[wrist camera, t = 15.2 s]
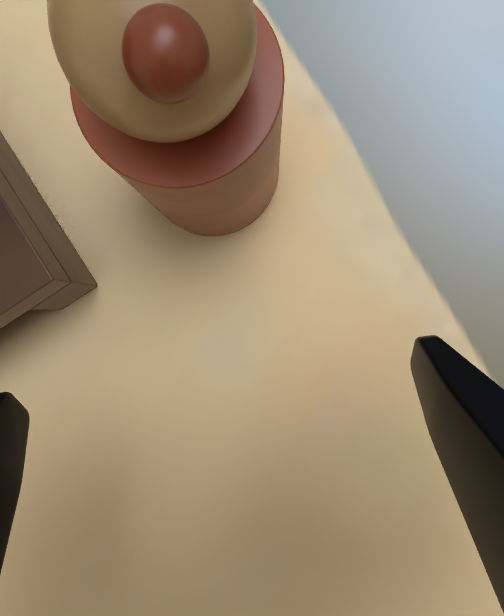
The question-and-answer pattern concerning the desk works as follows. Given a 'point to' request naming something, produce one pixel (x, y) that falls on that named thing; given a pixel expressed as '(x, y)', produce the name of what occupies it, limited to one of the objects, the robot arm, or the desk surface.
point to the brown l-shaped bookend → (33, 248)
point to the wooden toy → (178, 101)
